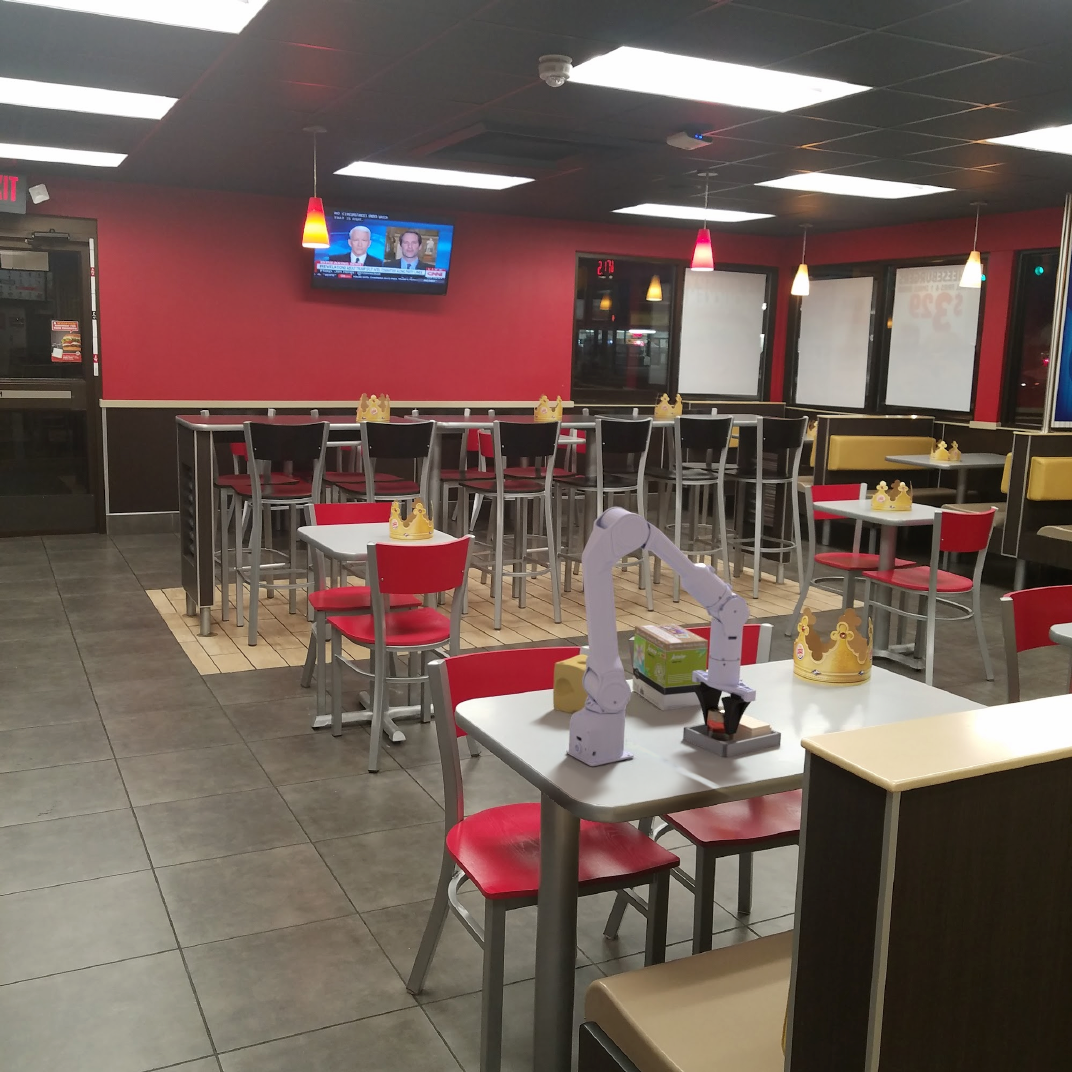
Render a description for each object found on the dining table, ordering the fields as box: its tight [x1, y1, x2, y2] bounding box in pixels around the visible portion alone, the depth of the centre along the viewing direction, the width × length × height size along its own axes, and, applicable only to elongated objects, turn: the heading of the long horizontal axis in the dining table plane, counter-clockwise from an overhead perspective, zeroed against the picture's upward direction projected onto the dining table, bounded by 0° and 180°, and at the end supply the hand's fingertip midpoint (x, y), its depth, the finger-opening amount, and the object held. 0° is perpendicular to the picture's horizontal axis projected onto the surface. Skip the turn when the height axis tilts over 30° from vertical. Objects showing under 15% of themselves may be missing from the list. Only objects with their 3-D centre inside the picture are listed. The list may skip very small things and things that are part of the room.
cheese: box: [552, 653, 623, 714], centre depth 212 cm, size 10×11×10 cm
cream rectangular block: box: [732, 713, 772, 741], centre depth 195 cm, size 5×8×4 cm, turn 33°
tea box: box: [632, 622, 709, 712], centre depth 219 cm, size 15×10×15 cm
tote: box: [682, 722, 782, 759], centre depth 193 cm, size 14×11×3 cm
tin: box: [707, 705, 734, 741], centre depth 191 cm, size 5×5×5 cm
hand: (720, 729), depth 191 cm, fingers closed on tin, 5 cm apart
